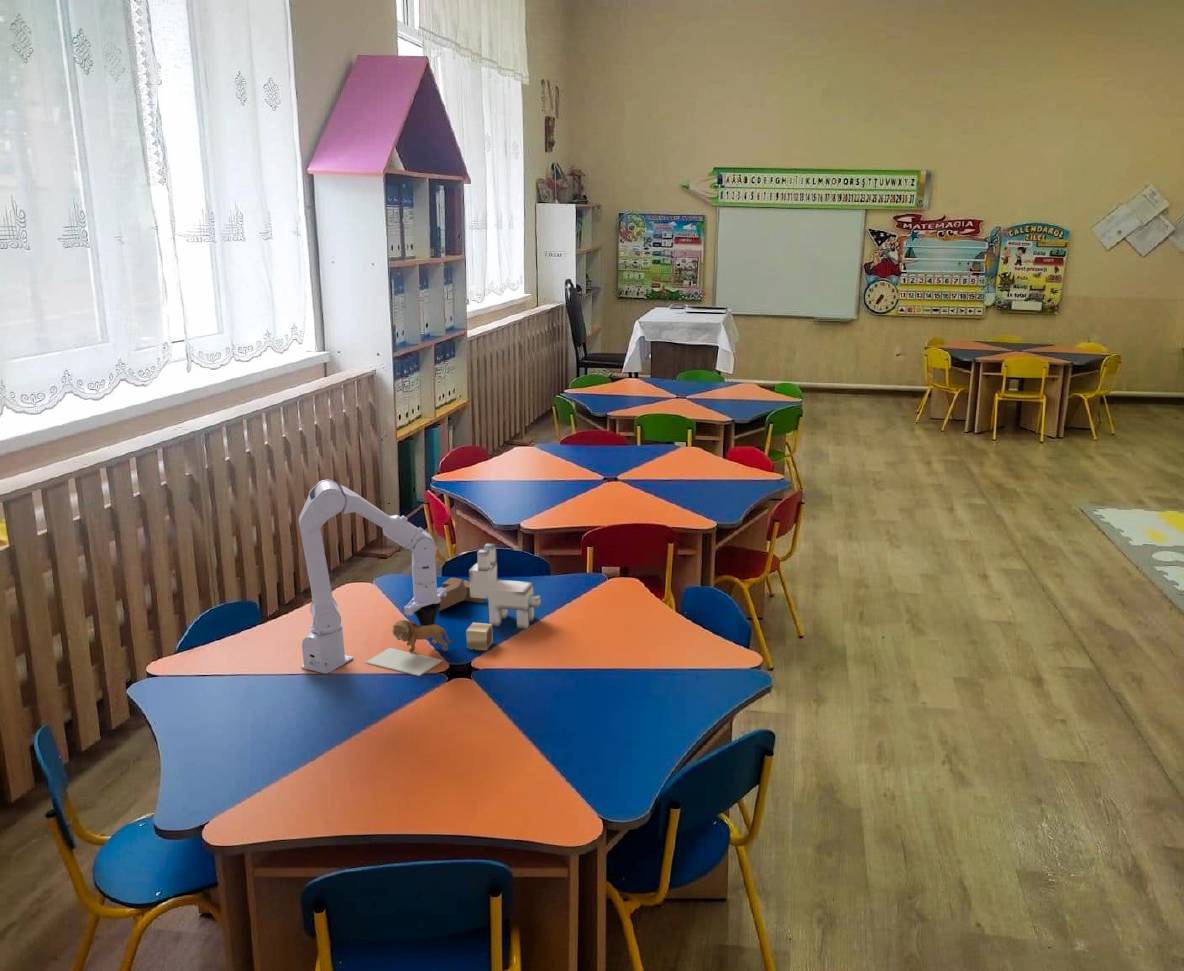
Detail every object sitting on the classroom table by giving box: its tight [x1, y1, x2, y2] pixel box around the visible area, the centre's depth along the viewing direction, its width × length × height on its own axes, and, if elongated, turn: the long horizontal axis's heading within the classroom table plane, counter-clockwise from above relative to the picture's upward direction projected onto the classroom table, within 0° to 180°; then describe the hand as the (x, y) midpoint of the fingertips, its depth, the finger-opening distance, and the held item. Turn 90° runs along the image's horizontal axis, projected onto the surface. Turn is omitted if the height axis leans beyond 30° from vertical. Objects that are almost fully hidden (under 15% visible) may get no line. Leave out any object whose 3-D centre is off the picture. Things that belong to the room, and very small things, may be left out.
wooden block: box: [438, 577, 485, 612], centre depth 269 cm, size 8×13×18 cm
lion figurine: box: [392, 620, 454, 653], centre depth 236 cm, size 15×5×9 cm, turn 107°
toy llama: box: [468, 542, 541, 630], centre depth 253 cm, size 8×18×20 cm, turn 76°
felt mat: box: [365, 647, 443, 677], centre depth 232 cm, size 9×16×1 cm, turn 62°
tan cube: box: [465, 622, 494, 651], centre depth 241 cm, size 5×5×5 cm
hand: (427, 632), depth 240 cm, fingers closed
